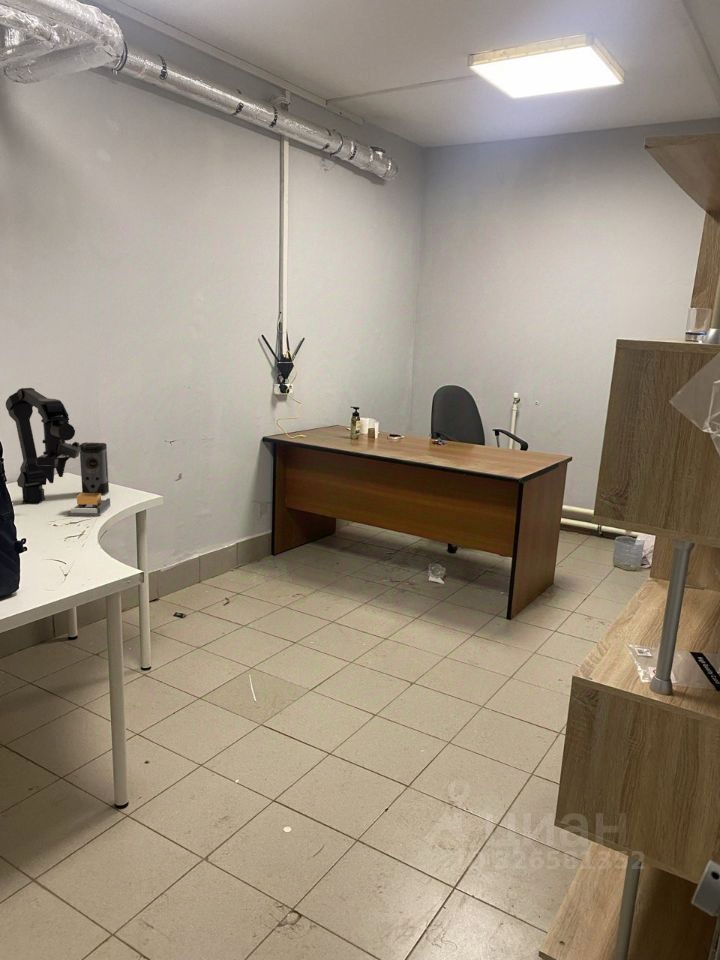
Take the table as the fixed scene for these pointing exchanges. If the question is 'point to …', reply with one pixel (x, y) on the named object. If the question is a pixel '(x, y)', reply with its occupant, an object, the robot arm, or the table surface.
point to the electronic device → (94, 468)
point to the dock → (90, 509)
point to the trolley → (89, 499)
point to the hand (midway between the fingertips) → (56, 480)
